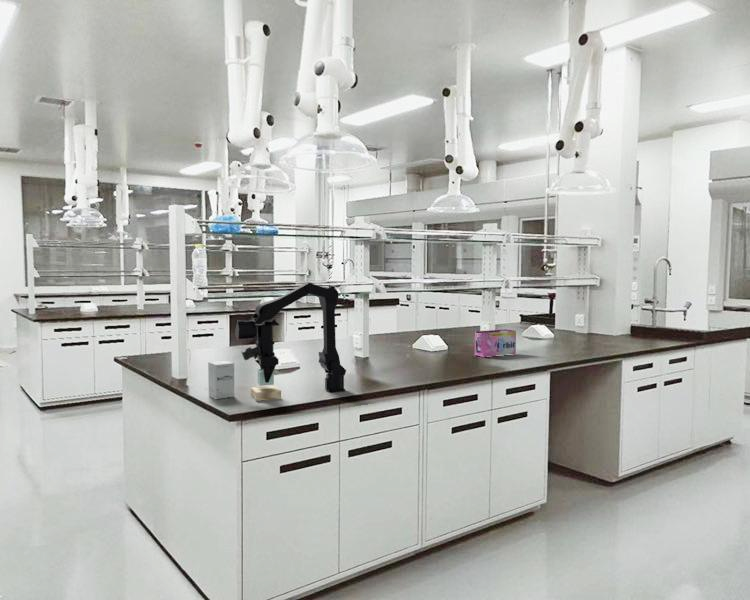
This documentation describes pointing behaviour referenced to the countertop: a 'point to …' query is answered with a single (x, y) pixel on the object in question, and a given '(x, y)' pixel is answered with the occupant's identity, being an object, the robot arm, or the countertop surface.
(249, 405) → the countertop surface
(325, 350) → the robot arm
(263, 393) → the beech block
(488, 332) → the gum box
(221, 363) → the supplement box
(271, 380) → the teal cube
